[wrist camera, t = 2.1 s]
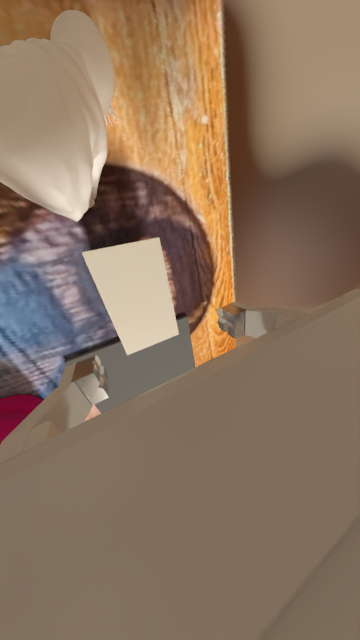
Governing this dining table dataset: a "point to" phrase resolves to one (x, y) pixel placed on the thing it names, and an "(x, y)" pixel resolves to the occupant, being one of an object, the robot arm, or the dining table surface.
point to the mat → (142, 365)
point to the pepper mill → (15, 412)
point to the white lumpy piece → (56, 114)
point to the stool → (135, 292)
